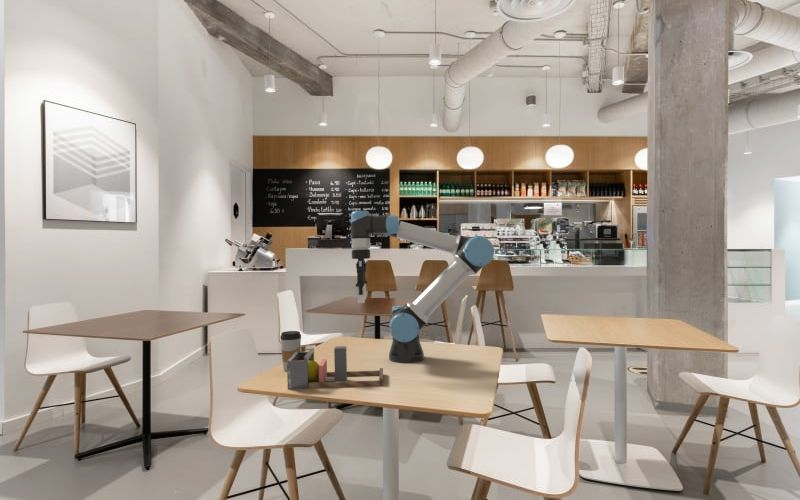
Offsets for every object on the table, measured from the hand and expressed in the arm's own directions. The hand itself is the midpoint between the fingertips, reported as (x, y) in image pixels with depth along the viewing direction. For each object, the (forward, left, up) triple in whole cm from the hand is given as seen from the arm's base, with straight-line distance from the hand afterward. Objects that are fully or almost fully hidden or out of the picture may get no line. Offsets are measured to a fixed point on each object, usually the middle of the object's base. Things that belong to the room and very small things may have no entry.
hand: (362, 301), depth 195 cm
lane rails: (+5, +21, -27) cm, 34 cm away
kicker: (+10, +20, -26) cm, 35 cm away
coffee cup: (+29, +1, -27) cm, 40 cm away
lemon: (+19, +22, -27) cm, 40 cm away
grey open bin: (+22, +21, -27) cm, 40 cm away
